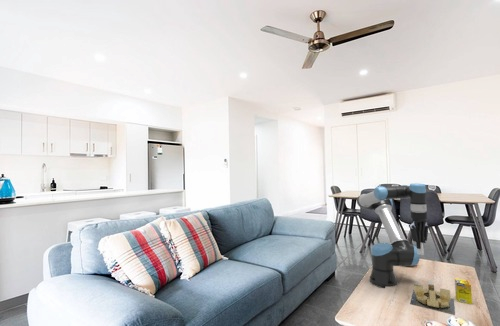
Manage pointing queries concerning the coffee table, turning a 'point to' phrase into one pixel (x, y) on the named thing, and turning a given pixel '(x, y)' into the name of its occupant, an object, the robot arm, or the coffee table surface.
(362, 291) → the coffee table surface
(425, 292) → the ring nut
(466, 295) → the supplement box
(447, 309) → the flange plate
